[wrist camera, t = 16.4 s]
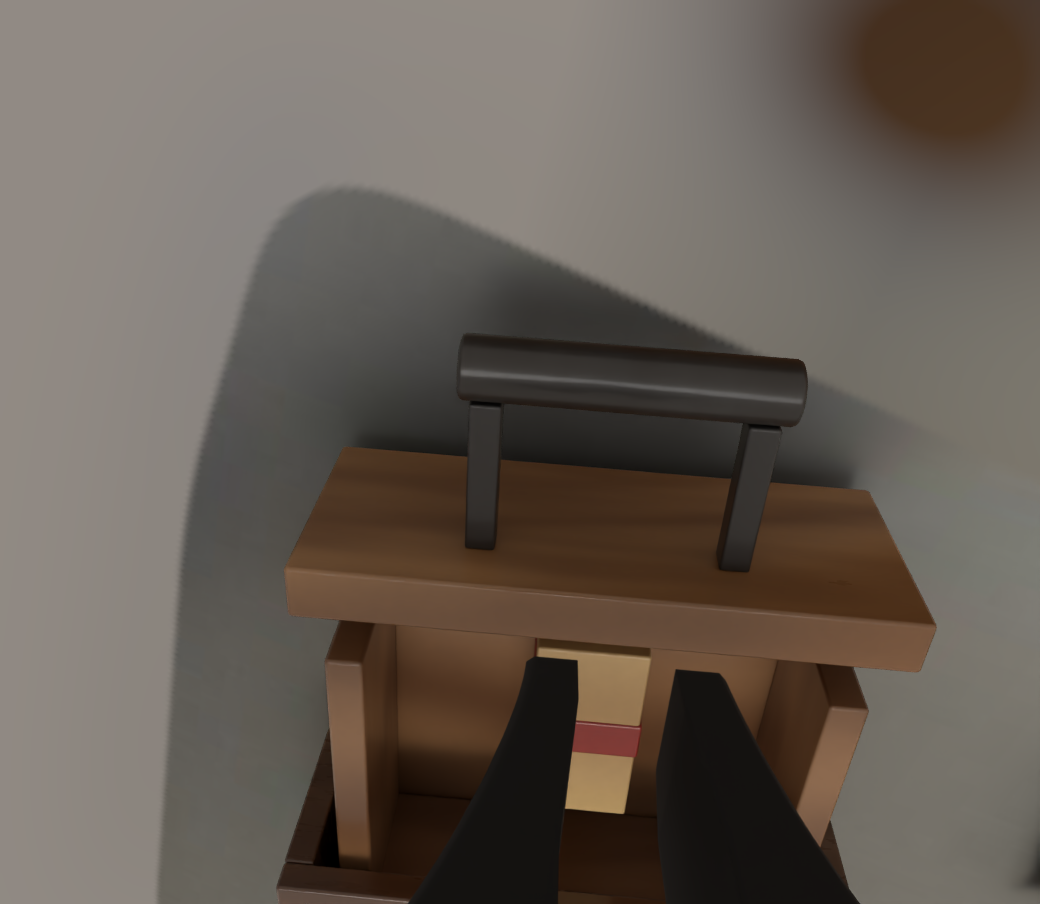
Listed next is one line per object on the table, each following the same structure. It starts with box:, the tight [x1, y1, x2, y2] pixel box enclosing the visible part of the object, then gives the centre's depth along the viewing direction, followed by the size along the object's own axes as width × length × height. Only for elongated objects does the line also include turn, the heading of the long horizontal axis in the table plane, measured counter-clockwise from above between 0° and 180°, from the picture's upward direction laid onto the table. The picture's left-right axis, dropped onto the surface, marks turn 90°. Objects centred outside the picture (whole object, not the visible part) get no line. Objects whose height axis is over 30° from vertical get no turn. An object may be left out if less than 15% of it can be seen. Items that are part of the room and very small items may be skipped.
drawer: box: [284, 333, 937, 900], centre depth 20 cm, size 16×12×5 cm
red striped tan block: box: [534, 638, 652, 814], centre depth 21 cm, size 5×2×3 cm, turn 177°
